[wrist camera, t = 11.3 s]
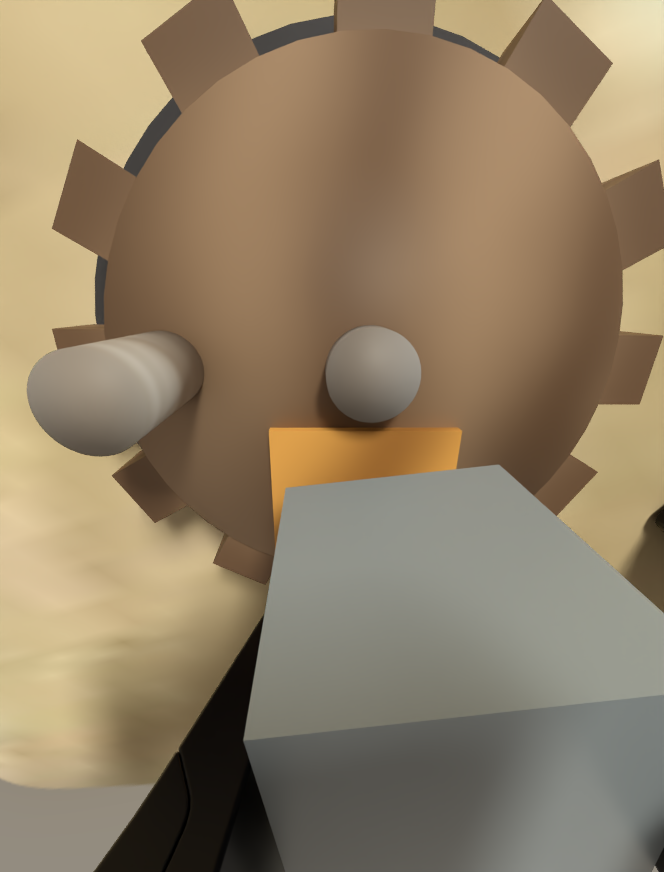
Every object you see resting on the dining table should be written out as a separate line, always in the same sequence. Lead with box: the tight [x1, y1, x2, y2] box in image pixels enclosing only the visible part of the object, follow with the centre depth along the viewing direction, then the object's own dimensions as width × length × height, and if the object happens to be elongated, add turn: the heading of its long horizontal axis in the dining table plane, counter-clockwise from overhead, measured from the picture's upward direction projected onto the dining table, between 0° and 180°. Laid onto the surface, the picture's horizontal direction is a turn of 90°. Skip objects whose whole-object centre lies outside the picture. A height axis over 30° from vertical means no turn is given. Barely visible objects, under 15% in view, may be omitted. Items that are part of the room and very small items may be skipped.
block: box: [243, 465, 664, 872], centre depth 7 cm, size 5×5×5 cm
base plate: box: [95, 16, 499, 447], centre depth 12 cm, size 17×17×1 cm
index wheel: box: [27, 0, 664, 584], centre depth 9 cm, size 17×17×6 cm
